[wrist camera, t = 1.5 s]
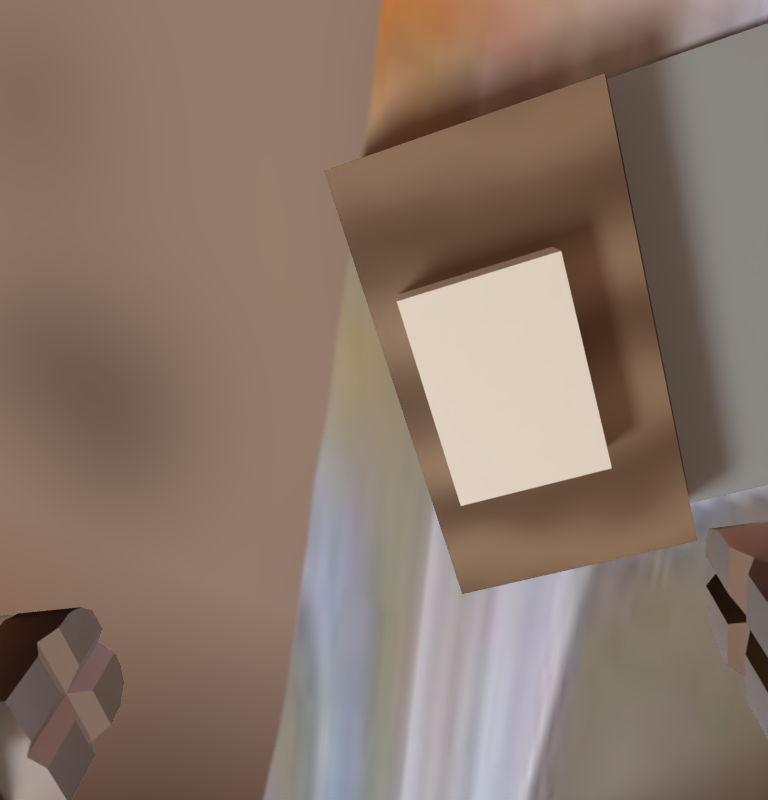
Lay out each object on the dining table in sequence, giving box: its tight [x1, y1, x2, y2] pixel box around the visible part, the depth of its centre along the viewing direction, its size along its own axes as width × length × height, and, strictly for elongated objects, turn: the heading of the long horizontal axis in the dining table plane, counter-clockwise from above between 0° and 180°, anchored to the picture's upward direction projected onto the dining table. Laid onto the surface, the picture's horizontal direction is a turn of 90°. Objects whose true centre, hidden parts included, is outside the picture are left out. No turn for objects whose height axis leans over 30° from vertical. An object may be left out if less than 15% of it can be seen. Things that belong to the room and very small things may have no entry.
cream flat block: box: [397, 247, 612, 506], centre depth 29 cm, size 10×7×2 cm
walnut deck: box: [324, 73, 697, 594], centre depth 31 cm, size 22×12×4 cm, turn 18°
